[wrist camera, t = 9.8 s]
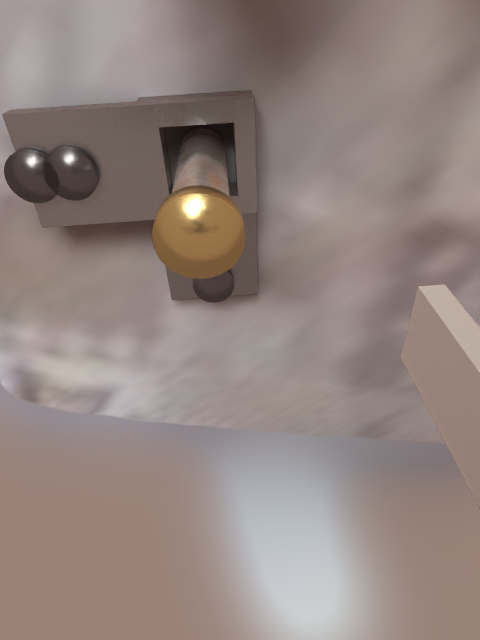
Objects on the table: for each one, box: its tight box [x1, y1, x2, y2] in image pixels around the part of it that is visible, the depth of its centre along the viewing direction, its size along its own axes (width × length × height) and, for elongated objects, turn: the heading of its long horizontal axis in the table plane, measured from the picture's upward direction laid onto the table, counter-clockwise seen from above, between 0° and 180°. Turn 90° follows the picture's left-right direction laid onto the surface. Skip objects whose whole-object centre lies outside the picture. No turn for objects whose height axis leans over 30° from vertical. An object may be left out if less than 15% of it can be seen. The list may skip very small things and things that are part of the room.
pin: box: [152, 128, 245, 279], centre depth 23 cm, size 4×4×13 cm
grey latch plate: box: [136, 90, 258, 302], centre depth 30 cm, size 15×7×2 cm, turn 3°
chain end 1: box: [2, 94, 257, 228], centre depth 27 cm, size 15×7×2 cm, turn 93°
